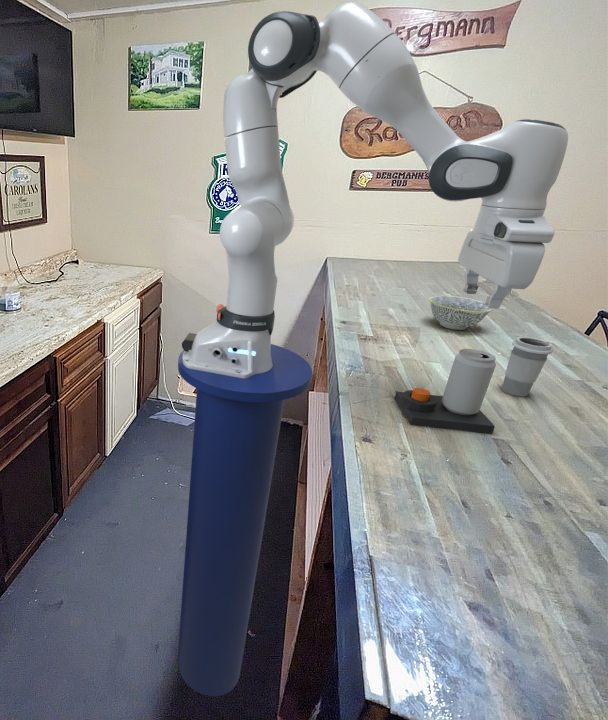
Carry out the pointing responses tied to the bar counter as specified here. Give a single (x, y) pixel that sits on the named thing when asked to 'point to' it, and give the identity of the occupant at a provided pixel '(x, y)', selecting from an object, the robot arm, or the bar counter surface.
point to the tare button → (420, 394)
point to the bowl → (458, 311)
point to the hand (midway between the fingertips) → (479, 299)
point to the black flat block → (440, 414)
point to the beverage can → (468, 381)
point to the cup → (525, 364)
